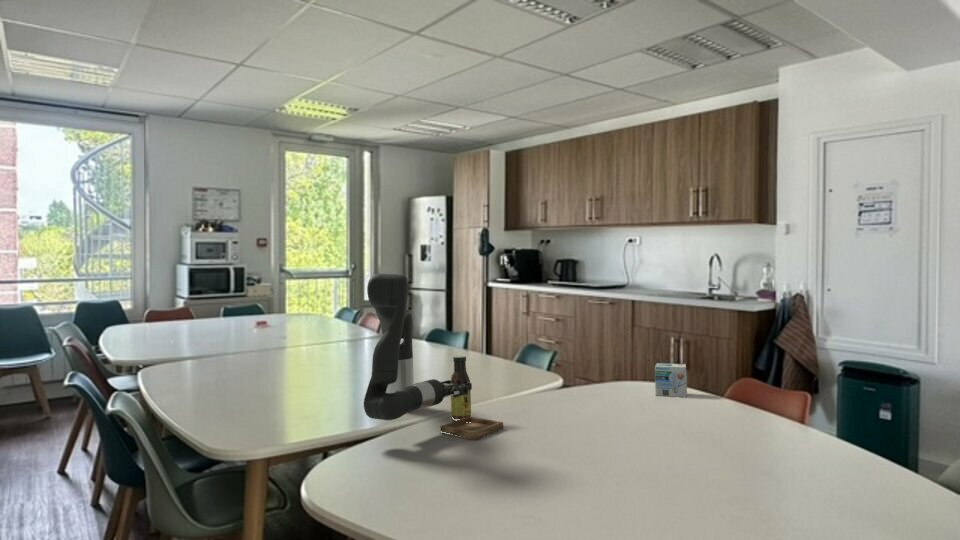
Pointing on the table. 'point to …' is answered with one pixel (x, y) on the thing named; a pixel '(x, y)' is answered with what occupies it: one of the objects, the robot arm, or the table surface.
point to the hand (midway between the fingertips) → (460, 384)
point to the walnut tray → (472, 427)
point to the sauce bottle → (460, 384)
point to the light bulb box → (670, 380)
